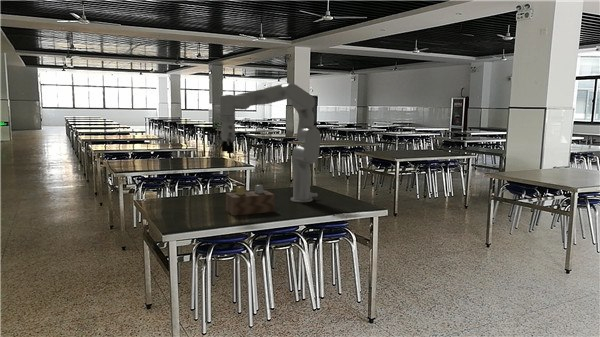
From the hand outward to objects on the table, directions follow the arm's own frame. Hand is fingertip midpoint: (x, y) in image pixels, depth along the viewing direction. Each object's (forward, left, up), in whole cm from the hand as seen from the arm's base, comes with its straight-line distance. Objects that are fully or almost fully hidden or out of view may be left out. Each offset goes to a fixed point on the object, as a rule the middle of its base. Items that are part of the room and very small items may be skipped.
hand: (227, 152), depth 236 cm
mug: (-9, -9, -30) cm, 33 cm away
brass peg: (-3, +10, -25) cm, 27 cm away
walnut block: (-8, +10, -30) cm, 33 cm away
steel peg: (-13, +10, -25) cm, 30 cm away
